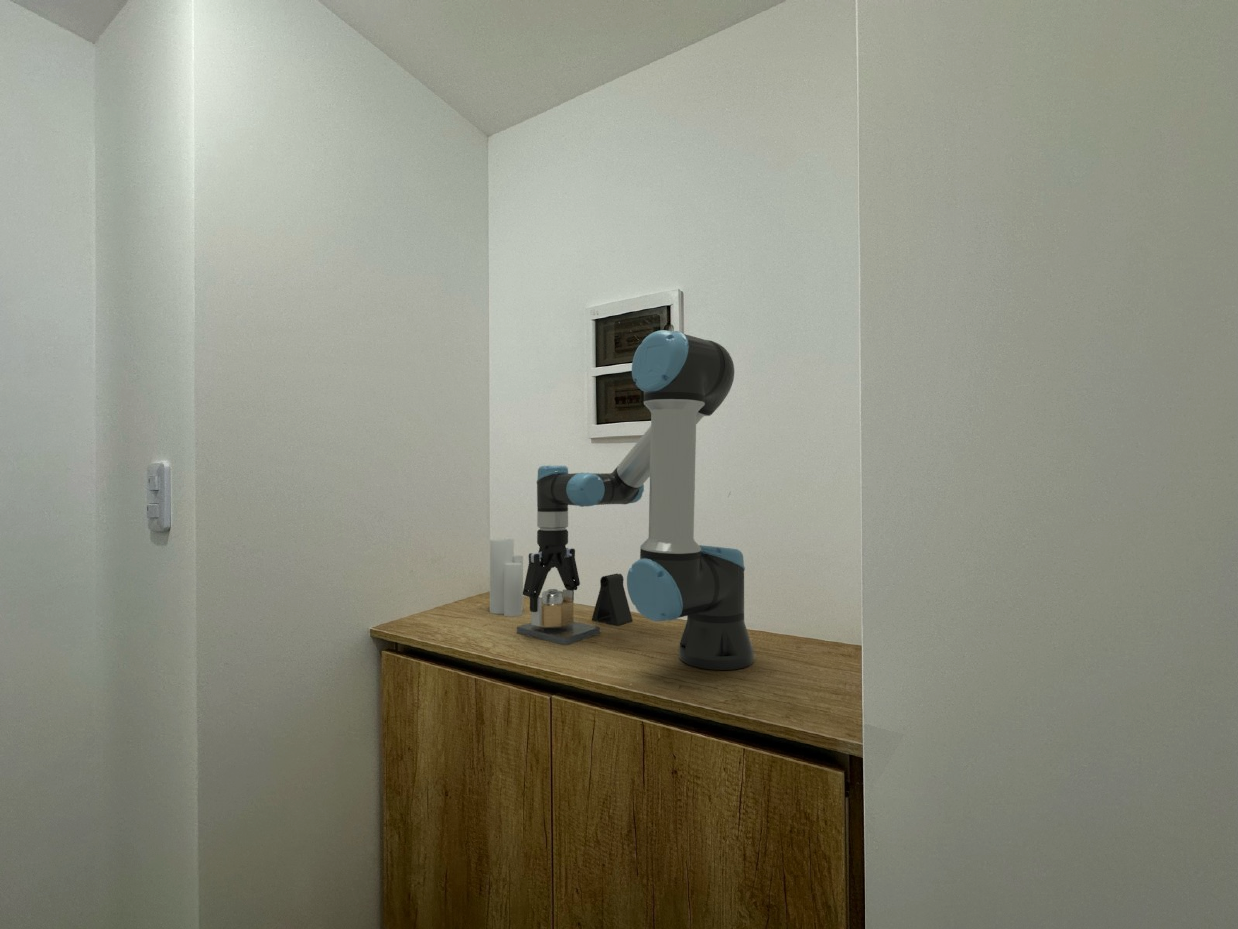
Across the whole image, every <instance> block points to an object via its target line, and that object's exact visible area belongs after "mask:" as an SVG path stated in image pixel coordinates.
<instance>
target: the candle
mask: <svg viewBox="0 0 1238 929" xmlns="http://www.w3.org/2000/svg"><path fill="white" fill-rule="evenodd" d="M514 542H515V541H514V539H513V538H494V539H492V538H491V539H490V540H489V613H490V614H494V615H502V614H503V616H505V617H508V618H509V617H510V618H515V617H521V616H522V615H523V612H524V609H523V608H524V607H523V606H524V595H523V589H524V556H523V555H514V554H515V553H514V549H515V548H514V547H515V546H514V544H515V543H514Z"/></svg>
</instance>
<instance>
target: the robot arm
mask: <svg viewBox="0 0 1238 929" xmlns="http://www.w3.org/2000/svg"><path fill="white" fill-rule="evenodd" d="M631 377H632V380H633V382H635V385H636V387H637V388H638V389H640V390H641V391H642V392H643V405H644V406H645V407H646V408H647V410H649V412H650V414H651V415H650V416H651V417H650V419H651V420H650V422H651V423H650V426H649V428H647V430H646V431H645V432H644V433H643V435H642V436H641V437H640V438H639V439H638V441H637V442H636V443H635V445H634V446H633V447H632V448H631V449H630V450H629V451H628V453H627V455H625V457H624V458H623V459H622V461H620V463H619V464H618V465H617V466H616V468H615V469H613V471H612V472H611V473H610V472H609V473H608V472H607V473H606V472H605V473H599V472H598V473H597V472H596V473H593V472H591V473H590V472H575V473H574V472H572V473H569V468H568V466H566V465H540V466H539V467H538V469H537V480H536V500H537V501H536V503H537V504H536V505H537V508H536V509H537V513H536V514H537V515H536V517H537V519H536V521H537V522H536V523H537V524H536V526H537V528H538V530H537V532H536V543H537V545H538V547H539V548H538V549H539V550H538V551H537V552H536V553H535V552H534V553H532V552H529V554H528V564H527V565H528V566H527V570H526V575H525V579H524V583H523V597H524V596H525V597H527V598H529V611H530V612H531V615H530V616H531V617H530V618H531V620H530V621H531V622H530V623H531V625H535V626H542V598H541V597H540V594H542V590H543V587H544V584H545V582H546V579H547V578H548V574H549V573H550V572H551V570H552V569H553V568H556V569H557V573H558V575H559V577H560V578H561V579H560V580H561V581H562V583H563V584H562V585H563V586H564V588H565V589H562V592H563V597H567V598H573V602H574V601H575V600H574V598H575V597H574V595H575V591H577V590H578V587H579V586H580V585H581V581H580V576H579V572H578V571H579V570H578V567H577V561H576V549H575V548H573V547H571V548H569V547H566V545H568V543H569V531H568V529H567V528H568V527H569V506H576V507H577V506H578V507H582V508H583V507H592V506H600V505H601V506H602V505H629V504H634V503H637V502H639V501H640V500H641V499H642V497H643V493H644V492H645V485H644V483H645V482H647V480H648V479H649V498H648V499H649V500H648V501H649V502H648V503H649V506H648V507H649V508H648V509H649V510H648V537H647V538H646V539H645V541H643V542H642V544H641V545H640V547H639V548H640V551H639V559H637V561H635V562H633V563H632V565H631V567H630V568H629V569H628V572H627V577H626V589H627V592H628V593H627V594H628V597H629V599H630V600H631V603H632V605H633V606H635V608H636V611H637V612H638V613H639V614H640V615H642V617H643V618H645V619H647V620H649V621H653V622H665V621H675V620H677V619H679V618H684V617H687V618H686V623H685V626H684V628H683V632H682V636H681V638H680V641H679V644H678V657H679V660H680V661H682V662H683V663H684V664H687V665H689V666H692V667H694V668H700V669H704V670H705V669H706V670H712V671H713V670H715V671H732V670H739V669H743V668H746V667H749V666H750V665H752V664H753V663H754V647H753V644H752V642H751V639H750V636H749V632H748V629H747V626H746V624H745V622H746V621H745V570H746V567H745V564H744V554H743V552H742V550H740V549H737V548H733V547H732V548H730V547H721V546H712V545H711V546H710V545H701V544H698V543H697V542H696V540H695V538H694V537H695V535H694V531H695V497H696V495H695V490H696V489H695V488H696V454H697V452H696V451H697V450H696V448H697V447H696V446H697V445H696V444H697V424H698V423H699V422H700V421H702V419H703V418H704V417H710V416H711V415H713V413H714V412H716V410H718V409H719V407H720V406H721V405H722V403H723V402H724V401H725V399H726V398H727V397H728V395H729V393H730V391H731V389H732V386H733V383H734V379H735V364H734V361H733V357H732V356H731V354H730V353H729V351H728V350H727V349H726V348H725V347H724V346H723V345H722V344H719V343H718V342H715V341H713V340H709V339H704V338H700V337H696V336H692V335H689V334H685V333H683V332H680V331H676V330H675V331H672V330H668V329H667V330H666V329H665V330H663V329H662V330H657V331H654V332H651V333H649V334H648V335H647V336H646V337H645V338H644V339H643V340H642V342H641V343H640V345H638V347H637V349H636V350H635V353H634V355H633V358H632V364H631Z"/></svg>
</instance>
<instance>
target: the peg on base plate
mask: <svg viewBox="0 0 1238 929" xmlns="http://www.w3.org/2000/svg"><path fill="white" fill-rule="evenodd" d="M541 597H542V603H543V604H561V603H563V590H559V589H556V588H548V589H547V590H545V591H541ZM516 634H519V635H522V636H527V637H530V638H531V637H532V638H535V639H540V640H544V641H548V642H552V643H555V644H560V645H564V646H567V645H570V644H573V643H575V642H579V641H583V640H584V639H588V638H590V637H593V636H596V635H600V634H601V627H600V626H597V625H591V624H587V623H582V622H577V621H574V623H572V624H569V625H566V626H562V627H540V626H535V625H531V622H530V623H526V624H523V625H519V626H516Z"/></svg>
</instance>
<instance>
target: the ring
mask: <svg viewBox="0 0 1238 929" xmlns="http://www.w3.org/2000/svg"><path fill="white" fill-rule="evenodd" d="M540 598H542V596H541V597H540ZM574 604H575V603H574V601H573V598H567V597H563V603H561V604H543V603H542V626H540V627H562V626H566V625H569V624H572V623H574V622H575V621H574V619H575V618H574V614H575V613H574V608H575V607H574V606H575V605H574Z"/></svg>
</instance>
